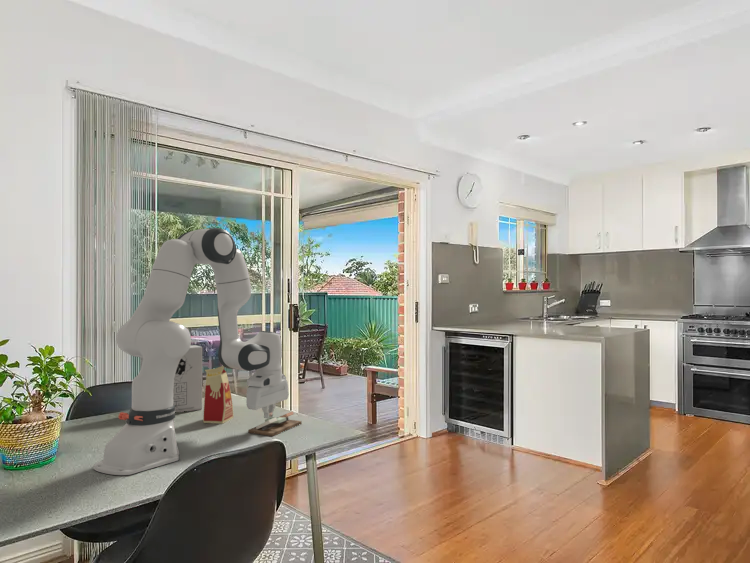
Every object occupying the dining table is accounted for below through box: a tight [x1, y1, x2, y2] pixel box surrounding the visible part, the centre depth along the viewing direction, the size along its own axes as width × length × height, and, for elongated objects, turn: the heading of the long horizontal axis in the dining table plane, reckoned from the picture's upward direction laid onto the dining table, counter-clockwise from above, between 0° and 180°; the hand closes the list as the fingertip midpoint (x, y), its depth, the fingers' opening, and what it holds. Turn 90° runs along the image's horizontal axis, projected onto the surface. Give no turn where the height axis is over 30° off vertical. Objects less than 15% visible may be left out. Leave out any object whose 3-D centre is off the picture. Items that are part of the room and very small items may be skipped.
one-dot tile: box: [255, 418, 277, 429], centre depth 175 cm, size 4×6×1 cm, turn 65°
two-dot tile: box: [264, 416, 286, 423], centre depth 179 cm, size 4×6×1 cm, turn 65°
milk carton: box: [202, 365, 234, 425], centre depth 190 cm, size 9×9×20 cm
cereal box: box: [139, 344, 203, 413], centre depth 204 cm, size 22×8×25 cm, turn 124°
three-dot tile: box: [279, 411, 295, 418], centre depth 184 cm, size 4×6×1 cm, turn 65°
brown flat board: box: [247, 416, 302, 437], centre depth 179 cm, size 17×10×2 cm, turn 155°
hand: (268, 417), depth 181 cm, fingers closed
